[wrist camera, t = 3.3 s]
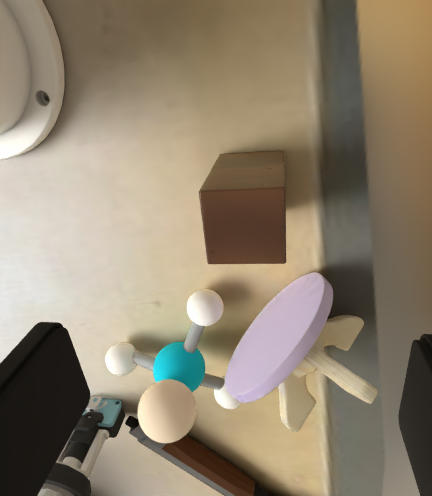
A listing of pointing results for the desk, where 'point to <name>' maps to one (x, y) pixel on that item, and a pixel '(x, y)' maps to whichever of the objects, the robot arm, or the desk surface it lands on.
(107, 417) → the push button
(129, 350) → the molecule model
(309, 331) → the toy table
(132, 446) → the desk surface
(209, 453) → the gun
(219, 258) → the brown rectangular block
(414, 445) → the robot arm
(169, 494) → the desk surface
